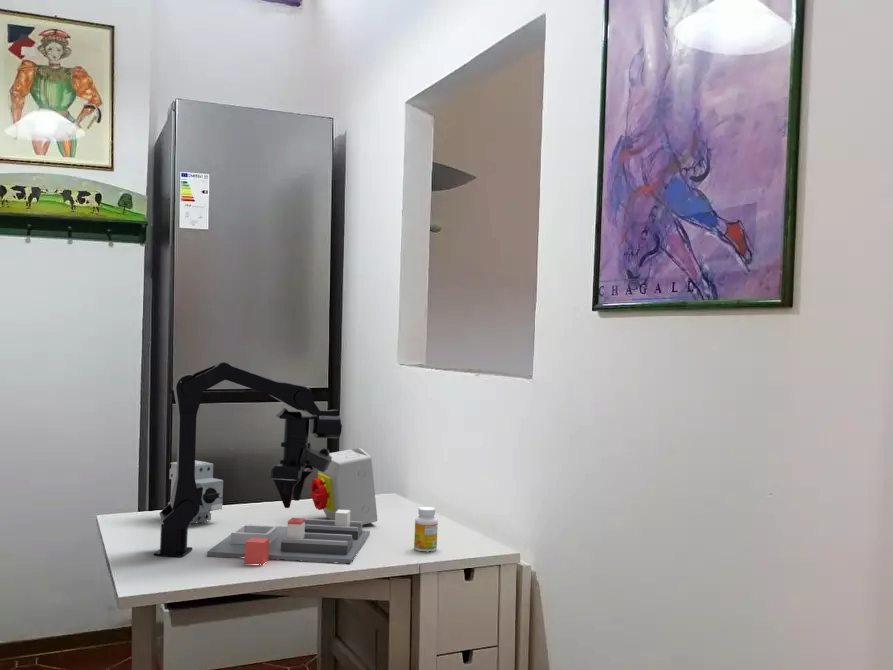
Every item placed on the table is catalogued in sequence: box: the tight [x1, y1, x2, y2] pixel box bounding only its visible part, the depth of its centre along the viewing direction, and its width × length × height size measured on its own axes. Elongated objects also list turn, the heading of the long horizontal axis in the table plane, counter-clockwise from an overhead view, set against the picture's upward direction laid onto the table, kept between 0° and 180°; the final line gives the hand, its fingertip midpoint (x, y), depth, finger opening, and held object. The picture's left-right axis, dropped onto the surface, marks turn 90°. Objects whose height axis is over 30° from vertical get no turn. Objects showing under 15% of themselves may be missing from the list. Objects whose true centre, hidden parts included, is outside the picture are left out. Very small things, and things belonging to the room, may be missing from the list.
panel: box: [206, 518, 371, 564], centre depth 191 cm, size 27×32×4 cm
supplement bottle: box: [413, 506, 439, 553], centre depth 191 cm, size 5×5×10 cm
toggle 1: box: [287, 517, 306, 539], centre depth 184 cm, size 4×3×4 cm
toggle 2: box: [335, 509, 350, 527], centre depth 198 cm, size 4×3×4 cm
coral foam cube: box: [244, 537, 269, 565], centre depth 174 cm, size 4×4×5 cm
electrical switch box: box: [310, 447, 378, 526], centre depth 215 cm, size 15×15×20 cm
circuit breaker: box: [167, 459, 224, 525], centre depth 210 cm, size 8×14×15 cm, turn 53°
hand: (292, 504), depth 190 cm, fingers open, 9 cm apart
